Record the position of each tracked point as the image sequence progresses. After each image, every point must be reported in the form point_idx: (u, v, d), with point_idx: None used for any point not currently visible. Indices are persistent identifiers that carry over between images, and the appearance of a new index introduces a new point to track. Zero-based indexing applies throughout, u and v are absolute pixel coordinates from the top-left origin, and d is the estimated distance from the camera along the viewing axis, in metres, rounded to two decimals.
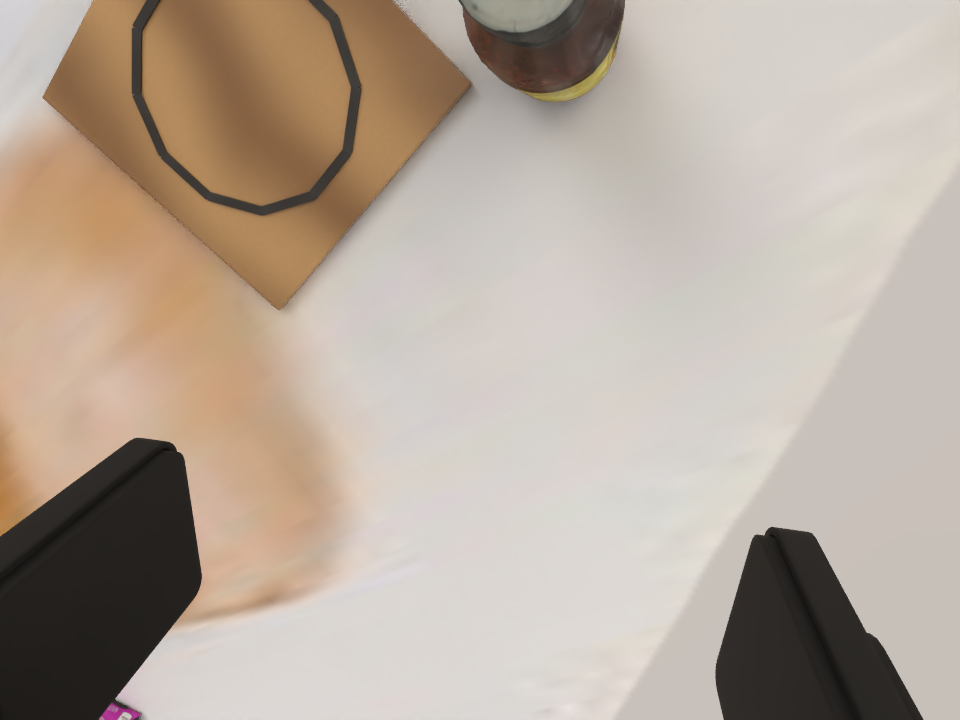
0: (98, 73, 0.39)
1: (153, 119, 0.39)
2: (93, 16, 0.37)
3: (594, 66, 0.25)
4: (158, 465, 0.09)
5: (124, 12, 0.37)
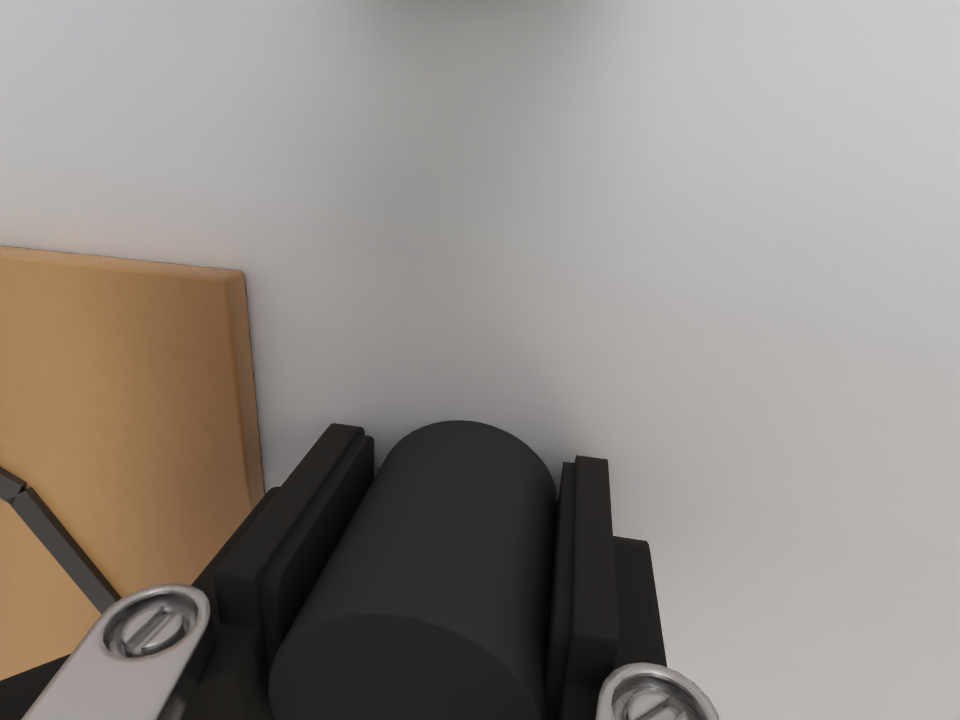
0: None
1: None
2: None
3: None
4: (362, 447, 0.10)
5: None
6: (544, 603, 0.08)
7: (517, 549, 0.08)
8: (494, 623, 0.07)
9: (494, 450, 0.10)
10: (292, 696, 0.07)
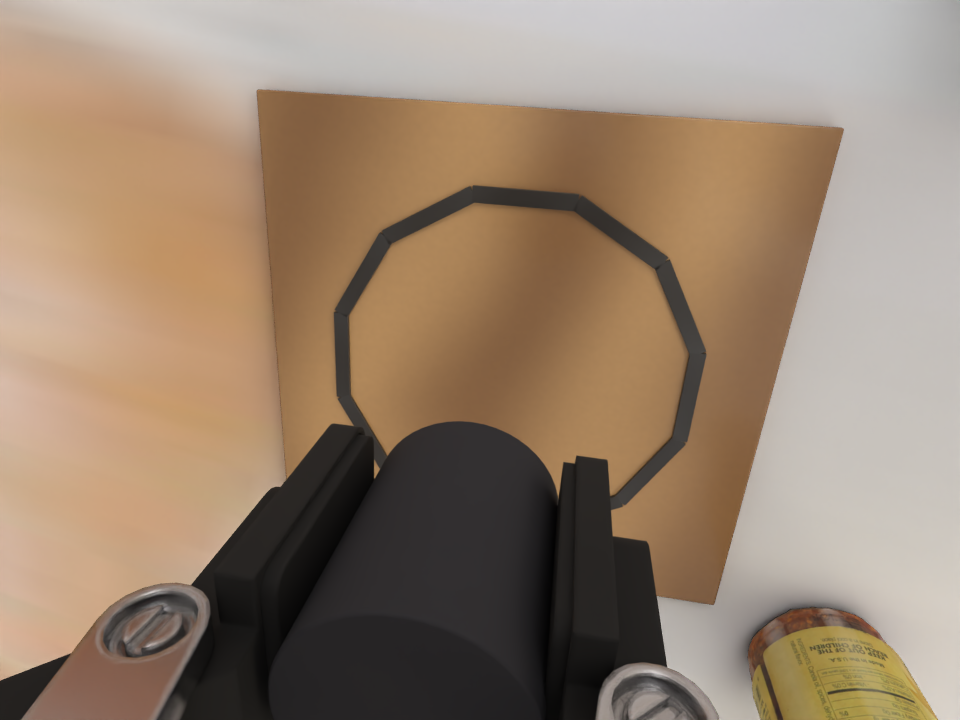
0: (366, 164, 0.22)
1: (374, 275, 0.24)
2: (436, 115, 0.21)
3: None
4: (361, 447, 0.10)
5: (480, 161, 0.22)
6: (544, 604, 0.08)
7: (517, 550, 0.08)
8: (494, 624, 0.07)
9: (495, 451, 0.10)
10: (292, 698, 0.07)
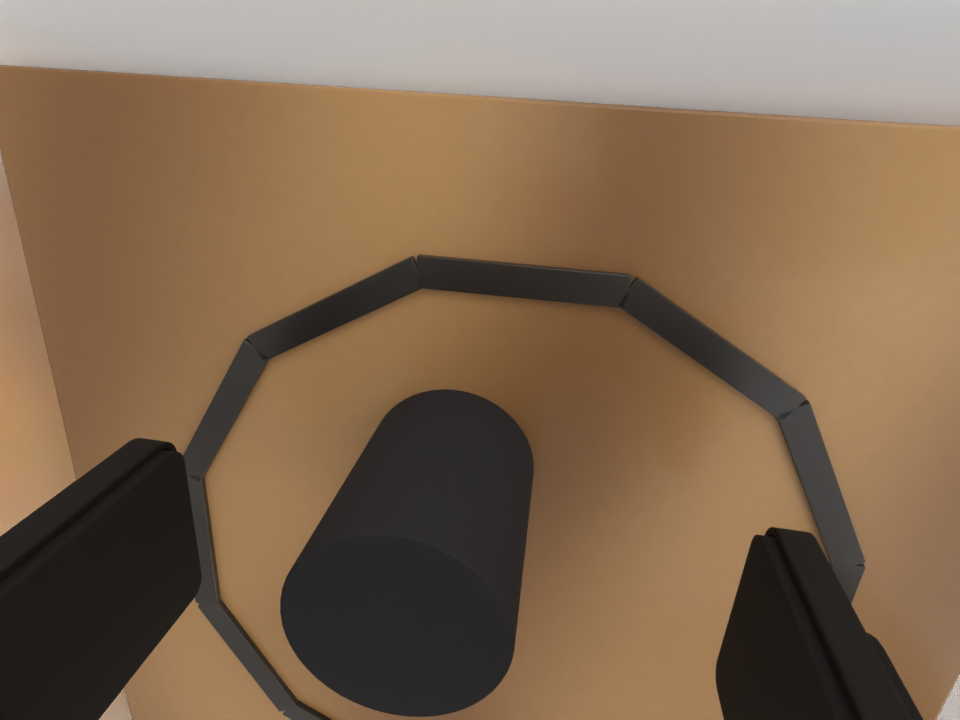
0: (208, 212, 0.11)
1: (242, 412, 0.13)
2: (340, 115, 0.10)
3: None
4: (158, 465, 0.09)
5: (431, 209, 0.11)
6: (517, 537, 0.10)
7: (493, 491, 0.10)
8: (472, 545, 0.08)
9: (476, 413, 0.11)
10: (301, 612, 0.09)
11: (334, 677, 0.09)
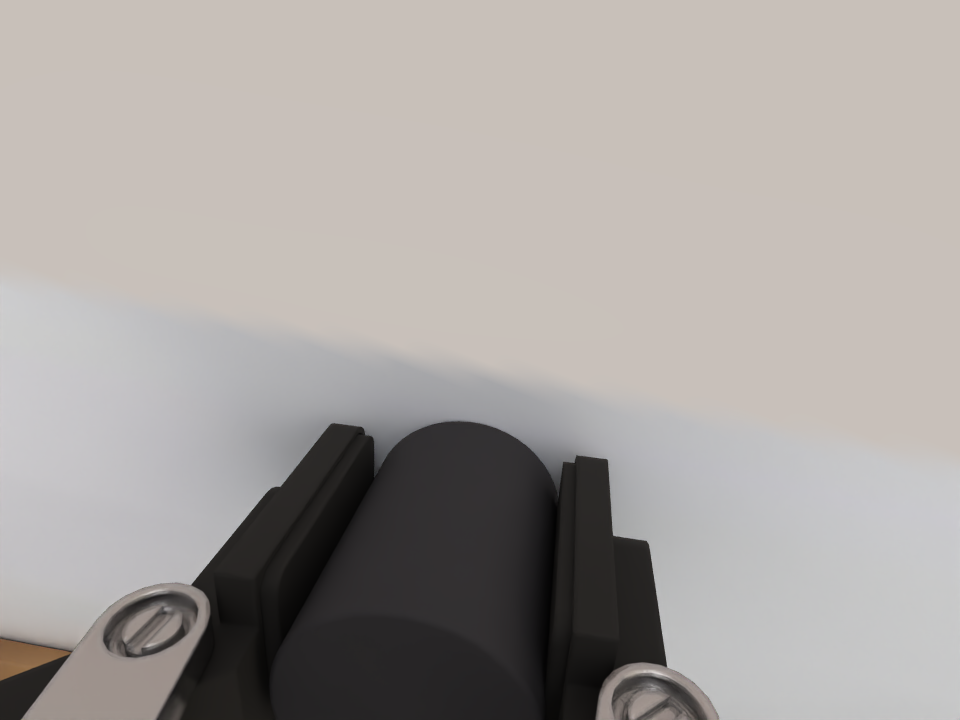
0: None
1: None
2: None
3: None
4: (361, 447, 0.10)
5: None
6: None
7: None
8: None
9: None
10: None
11: None
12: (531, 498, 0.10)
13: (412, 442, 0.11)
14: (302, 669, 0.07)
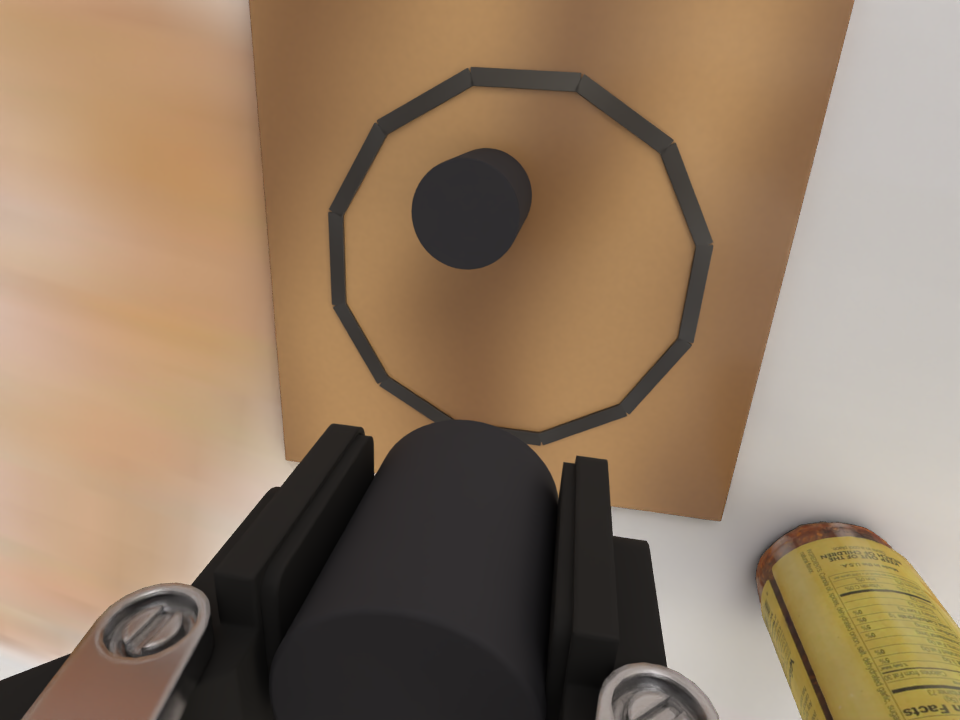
0: (360, 47, 0.22)
1: (369, 170, 0.23)
2: None
3: None
4: (361, 448, 0.10)
5: (478, 41, 0.21)
6: (521, 190, 0.20)
7: (510, 168, 0.20)
8: (501, 170, 0.19)
9: (500, 152, 0.22)
10: (421, 209, 0.19)
11: (435, 248, 0.19)
12: (531, 497, 0.10)
13: (412, 440, 0.10)
14: (302, 667, 0.07)
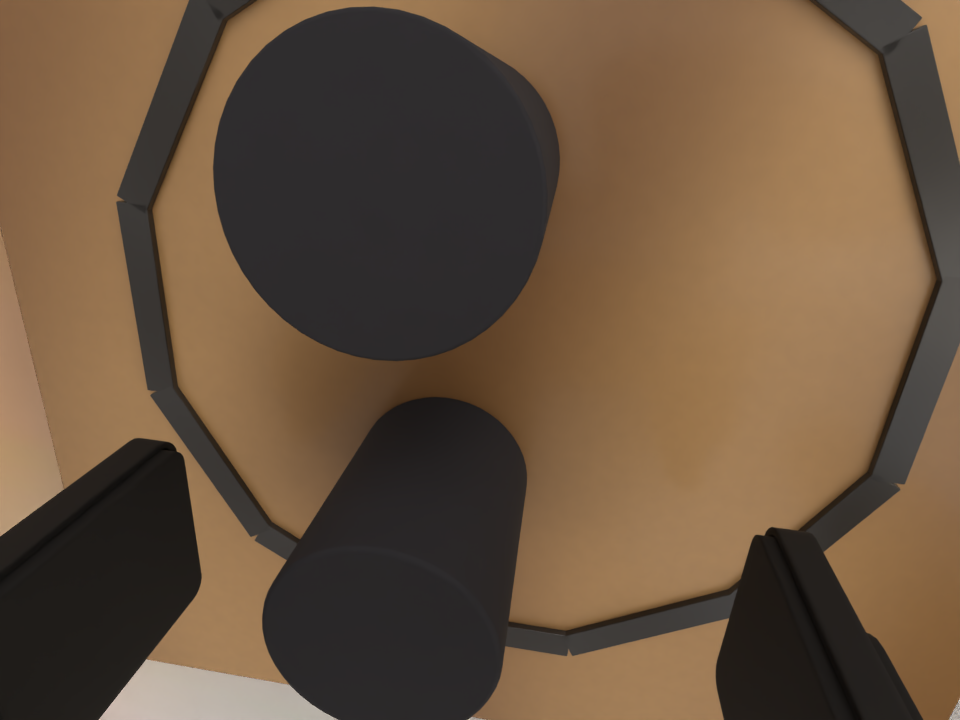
0: None
1: (195, 108, 0.10)
2: None
3: None
4: (158, 465, 0.09)
5: None
6: (546, 133, 0.07)
7: (513, 74, 0.07)
8: (486, 55, 0.06)
9: None
10: (242, 182, 0.06)
11: (292, 301, 0.07)
12: (499, 463, 0.11)
13: (392, 415, 0.12)
14: (291, 603, 0.08)
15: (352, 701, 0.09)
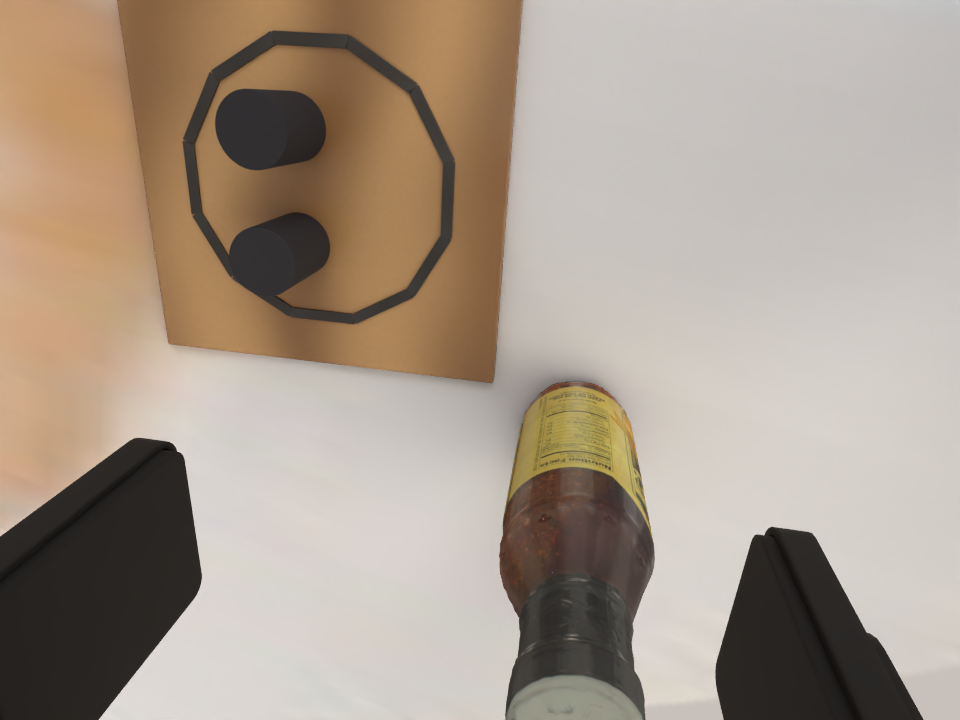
0: (195, 16, 0.30)
1: (209, 109, 0.32)
2: None
3: None
4: (158, 465, 0.09)
5: (276, 11, 0.29)
6: (297, 115, 0.28)
7: (290, 100, 0.28)
8: (273, 98, 0.27)
9: (296, 93, 0.30)
10: (221, 126, 0.27)
11: (233, 154, 0.28)
12: (310, 228, 0.32)
13: None
14: (236, 248, 0.29)
15: (255, 283, 0.30)
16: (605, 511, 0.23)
